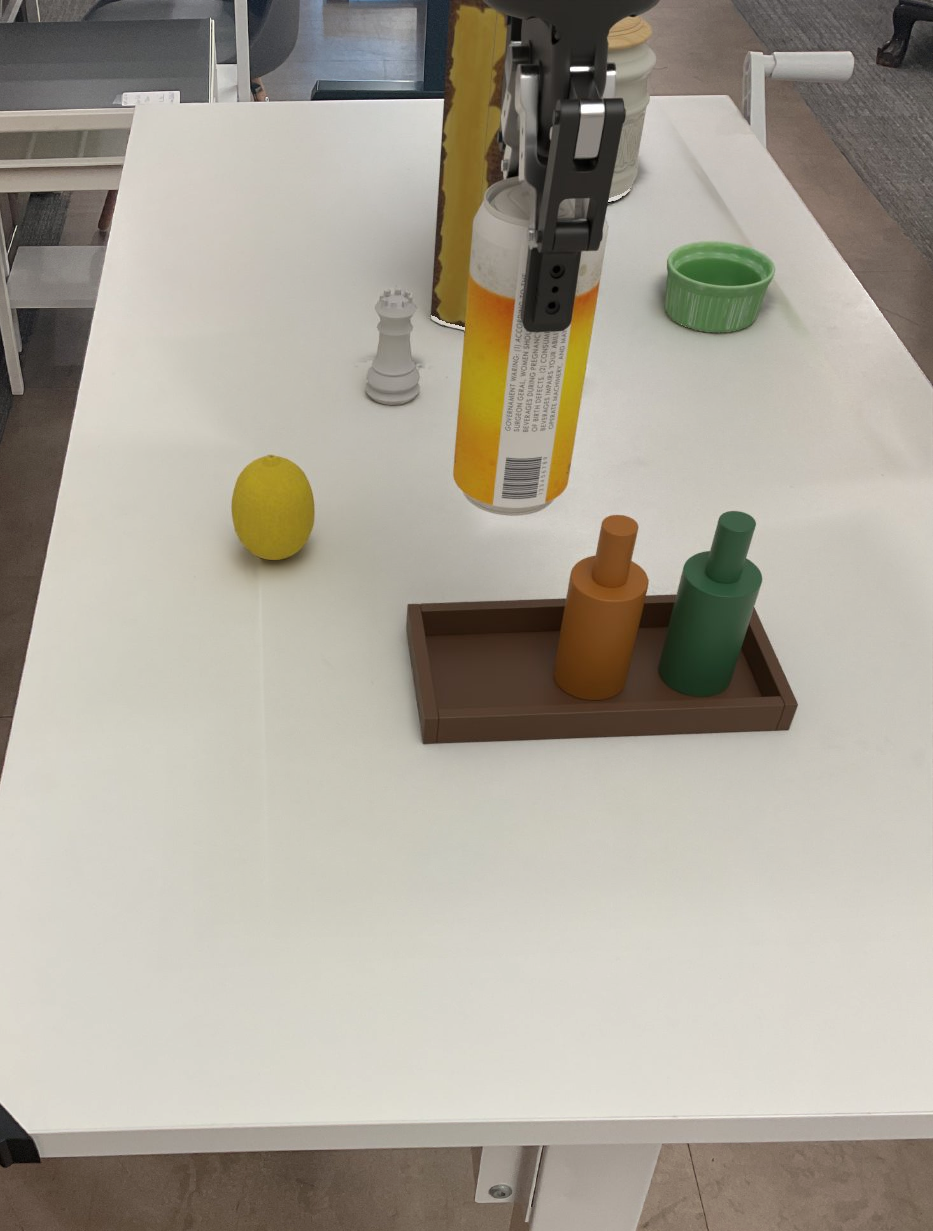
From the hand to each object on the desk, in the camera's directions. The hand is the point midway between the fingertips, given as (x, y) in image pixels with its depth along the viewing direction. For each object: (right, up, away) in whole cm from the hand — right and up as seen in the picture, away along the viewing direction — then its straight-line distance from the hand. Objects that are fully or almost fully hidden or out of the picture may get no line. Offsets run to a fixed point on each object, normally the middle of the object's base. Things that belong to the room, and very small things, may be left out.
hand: (532, 293), depth 59 cm
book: (+7, +25, +56) cm, 62 cm away
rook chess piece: (-4, +10, +42) cm, 43 cm away
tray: (+7, -16, +18) cm, 25 cm away
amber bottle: (+7, -16, +18) cm, 25 cm away
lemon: (-13, -7, +27) cm, 31 cm away
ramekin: (+24, +20, +51) cm, 60 cm away
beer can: (0, -7, +8) cm, 11 cm away
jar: (+16, +41, +70) cm, 83 cm away
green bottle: (+13, -16, +18) cm, 27 cm away
